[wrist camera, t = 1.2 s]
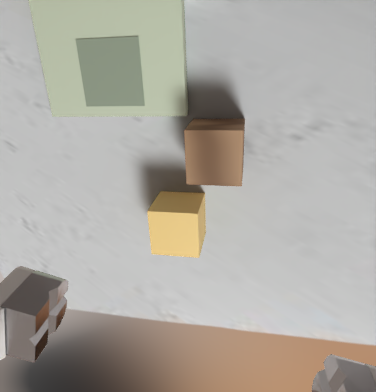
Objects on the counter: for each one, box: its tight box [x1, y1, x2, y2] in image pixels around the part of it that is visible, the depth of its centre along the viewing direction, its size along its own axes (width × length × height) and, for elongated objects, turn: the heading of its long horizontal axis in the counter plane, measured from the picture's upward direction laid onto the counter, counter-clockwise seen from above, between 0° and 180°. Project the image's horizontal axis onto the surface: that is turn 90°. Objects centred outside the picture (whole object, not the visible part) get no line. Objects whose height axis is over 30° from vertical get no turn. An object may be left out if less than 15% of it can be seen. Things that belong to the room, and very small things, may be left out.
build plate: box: [28, 0, 188, 117], centre depth 30 cm, size 14×12×1 cm
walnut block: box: [184, 119, 245, 186], centre depth 31 cm, size 5×5×5 cm
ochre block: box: [147, 191, 206, 258], centre depth 35 cm, size 5×5×5 cm
